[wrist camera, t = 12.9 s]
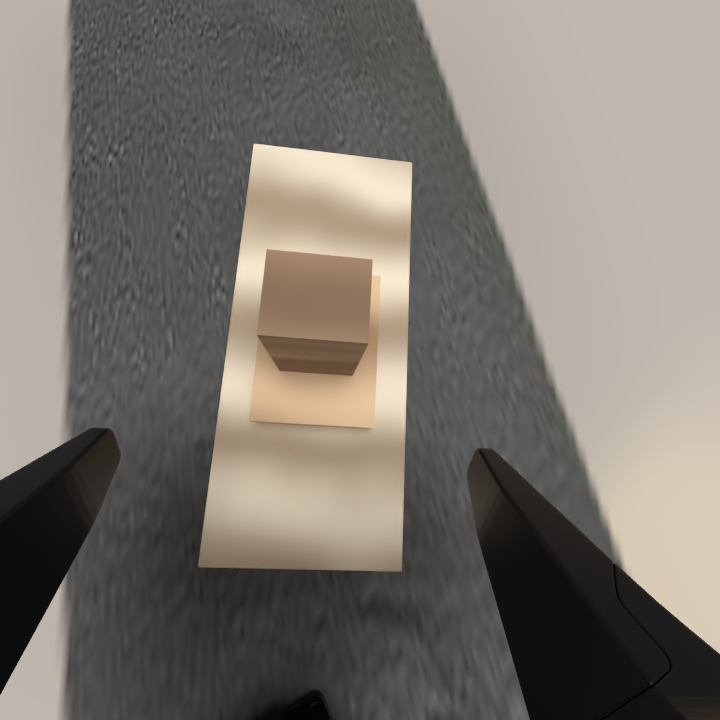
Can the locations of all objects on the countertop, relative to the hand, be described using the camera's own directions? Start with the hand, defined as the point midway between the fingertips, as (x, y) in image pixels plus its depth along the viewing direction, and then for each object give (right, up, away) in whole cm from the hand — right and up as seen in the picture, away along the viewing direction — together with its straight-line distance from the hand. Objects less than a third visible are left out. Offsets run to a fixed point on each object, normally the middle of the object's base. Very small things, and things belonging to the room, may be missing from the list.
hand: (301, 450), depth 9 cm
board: (-1, +3, +14) cm, 15 cm away
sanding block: (-1, +3, +11) cm, 12 cm away
